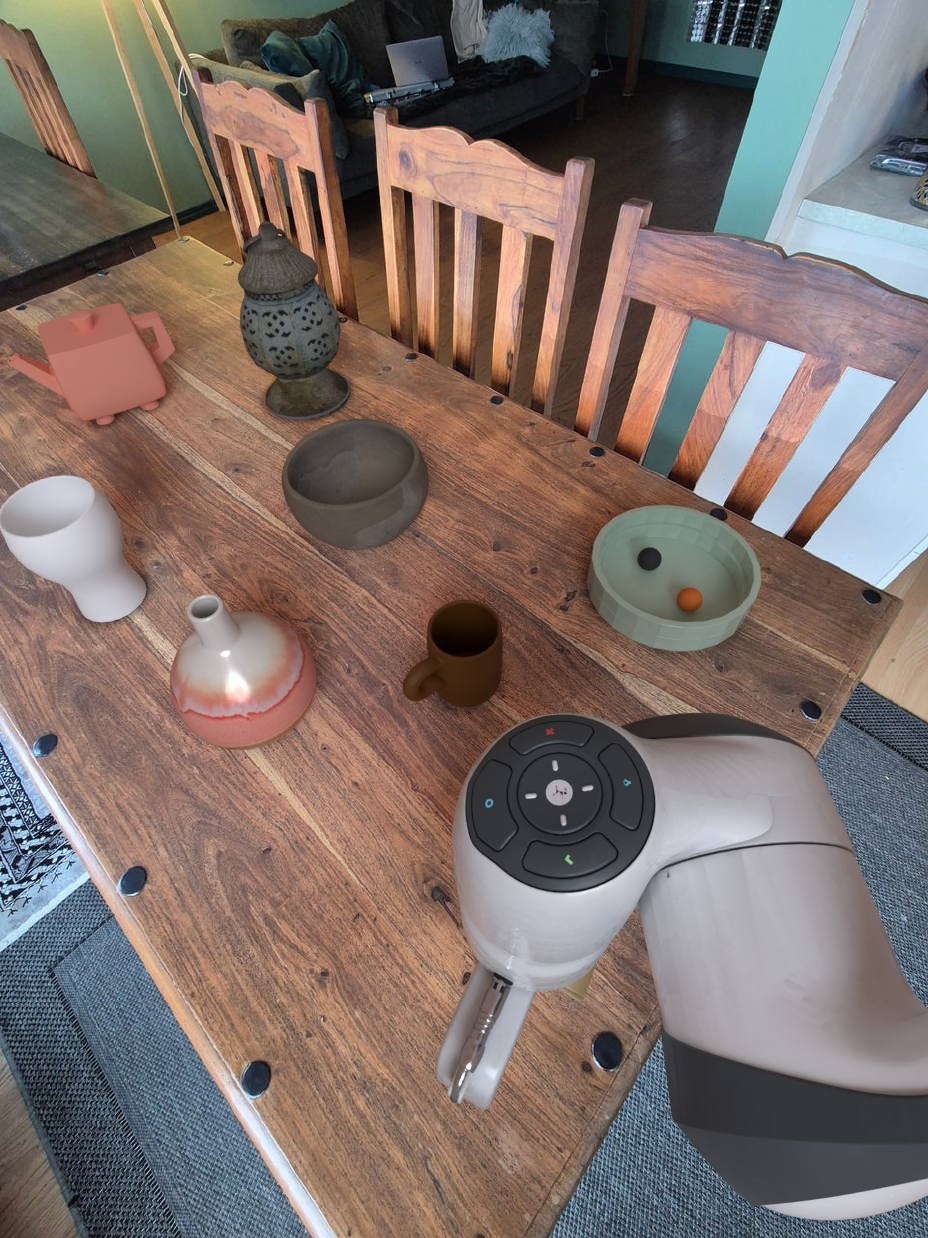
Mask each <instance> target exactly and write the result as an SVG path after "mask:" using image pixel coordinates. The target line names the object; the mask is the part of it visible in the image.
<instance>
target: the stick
mask: <svg viewBox="0 0 928 1238" xmlns="http://www.w3.org/2000/svg"><path fill="white" fill-rule="evenodd" d="M458 929H459V935H461V936H462V937H464V938H466V936H465V933H464V929H463V925H462V920H460V922H459V924H458ZM596 968H597V963H596V964H595V965H594V966H593V968H592V969H591V970H590V971H589V972H588V973H587V974H586V975H584V976H583V977H582V978H581V979H579V980H578V981H576V982H575V983H573V984H571V985H569V986H567V987H564V988H561V989H558V990H557V991H559V992H561V993H563V994H564V995H566V996H568V997H569V998H572V999H573V1000H575V1001H577V1002H578V1003H581V1002H582V1001H583V1000H584V998H585V997H586V995H587V992H588V991H589V987H590V984H591V982H592V979H593V975H594V973H595V970H596Z"/></svg>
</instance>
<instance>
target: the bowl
mask: <svg viewBox="0 0 928 1238" xmlns="http://www.w3.org/2000/svg"><path fill="white" fill-rule="evenodd" d="M429 482H430V481H429V471H428V466H427V463H426V460H425V457H424V455H423V452H422V450H421V448H420V446H419V444H418V443H417V442H416V440H415V439H414V438H413V436H412V435H410V433H408V432H407V431H406V430H405V429H403V428H402V427H400V426H397V425H395V424H393V423H391V422H386V421H383V420H378V419H369V418H353V419H352V418H350V419H344V420H338V421H335V422H332V423H329V424H326V425H324V426H322V427H320V428H318V429H316V430H314V431H312V432H310V433H308V434H307V435H305V436H304V437H303V438H302V439H301V440H299V441H298V442H297V443H296V444H295V445H294V446H293V447H292V449H291V450H290V451H289V452H288V455H287V456H286V457H285V459H284V462H283V465H282V470H281V487H282V491H283V496H284V499H285V502H286V505H287V507H288V509H289V510H290V512H291V515H292V516H293V517H294V518H295V520H296V522H297V523H298V524H299V525H300V527H302V528H303V530H305V532H307V533H308V534H310V535H311V536H313V537H314V538H316V539H318V540H320V541H321V542H323V543H326V544H327V545H330V546H333V547H336V548H338V549H343V550H347V551H364V550H370V549H375V548H379V547H383V546H384V545H387V544H389V543H391V542H392V541H394V540H395V539H396V538H397V537H399V536H400V535H402V534H403V533H404V532H405V531H406V530H407V529H408V528H409V527H410V526H411V525H412V524H413V523H414V522H415V520H416V519H417V518H418V516H419V515H420V513H421V512H422V510H423V508H424V506H425V504H426V500H427V498H428V494H429Z"/></svg>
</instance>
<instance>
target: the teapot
mask: <svg viewBox="0 0 928 1238" xmlns="http://www.w3.org/2000/svg"><path fill="white" fill-rule="evenodd" d="M150 327H151V330H152V332H153V335H154V337H155V341H154V342H153V343H151V344H150V345H149V346H148V344H147V342H146V340H145V338H144V337H143V335H142V333H141V332H140V331H142V330H144V329H147V328H150ZM37 332H38V335H39V338H40V341H41V344H42V347H43V349H44V352H45V355H46V358H47V360H48V363H49V365H48V364H46V363H43V362H40V361H38V360H35V359H33V358H30V357H27V356H24V355H22V354H19V352H16V353H14V354H12V355H11V356H9V357H7V358H6V359H5V360H6V363H7V365H8V366H10V367H11V368H13V369H15V370H16V371H18V372H20V373H22V374H23V375H25V376H27V377H28V378H30V379H32V380H34V381H35V382H36V383H39V384H40V385H42V386H44V387H45V388H47V389H49V390H50V391H53V392H54V393H56V394H58V395H59V396H61V397H64V398H65V400H66V402H67V404H68V406H69V407H70V409H71V410H72V412H74V414H75V415H76V416H77V417H78V418H79V419H80V420H81V421H82V422H86V421H88V422H89V421H92V420H93V421H94V420H95V422H96V424H97V425H100V426H103V425H108V424H111V423H112V422H114V421H115V419H116V415H115V414H118V413H121V412H125V411H128V410H131V409H134V408H138V407H140V408H141V409H142V410H143V411H153V410H155V409H157V408H158V407H159V405H160V401H159V399H161V398H163V397H165V396H167V395H168V393H167V387H166V382H165V379H164V376H163V374H162V372H161V370H160V367H159V366H160V365H162V364H163V362H165V361H166V360H167V359H168V358H169V357H170V356H171V355H172V353H174V352H175V351H176V348H175V346H174V344H173V342H172V340H171V338H170V336H169V333H168V332H167V330H166V327H165V326H164V323H163V322H162V319H161V318H160V315H159V313H158V312H157V310H153V311H149V312H144V313H139V314H133V315H130V314H129V313H128V311H127V310H126V308H125V306H124V305H123V304H122V303H120V302H118V303H111V304H107V305H101V306H97V307H94V308H90V309H79V310H78V309H77V310H75V311H72V312H71V313H69V314H67V315H64V316H60V317H57V318H53V319H50V320H47V321H45V322H41V323H39V324H38V325H37Z"/></svg>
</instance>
